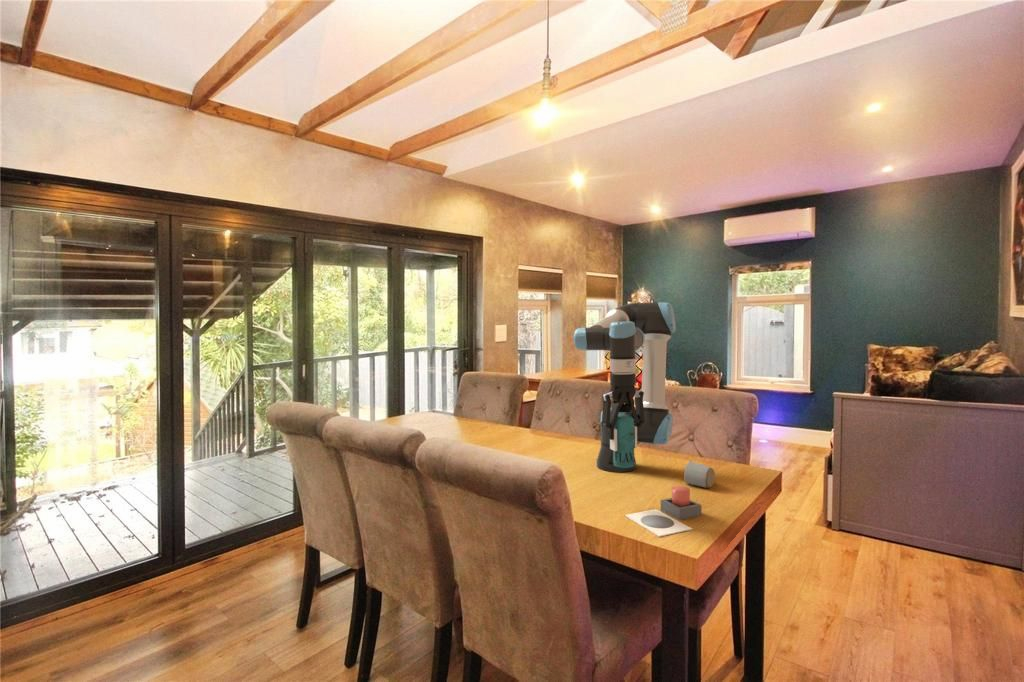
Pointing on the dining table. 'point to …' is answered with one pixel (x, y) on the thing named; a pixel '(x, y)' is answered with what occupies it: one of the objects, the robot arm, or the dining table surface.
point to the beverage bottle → (624, 439)
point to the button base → (681, 509)
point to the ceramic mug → (699, 475)
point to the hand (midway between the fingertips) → (623, 448)
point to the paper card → (658, 522)
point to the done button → (680, 496)
